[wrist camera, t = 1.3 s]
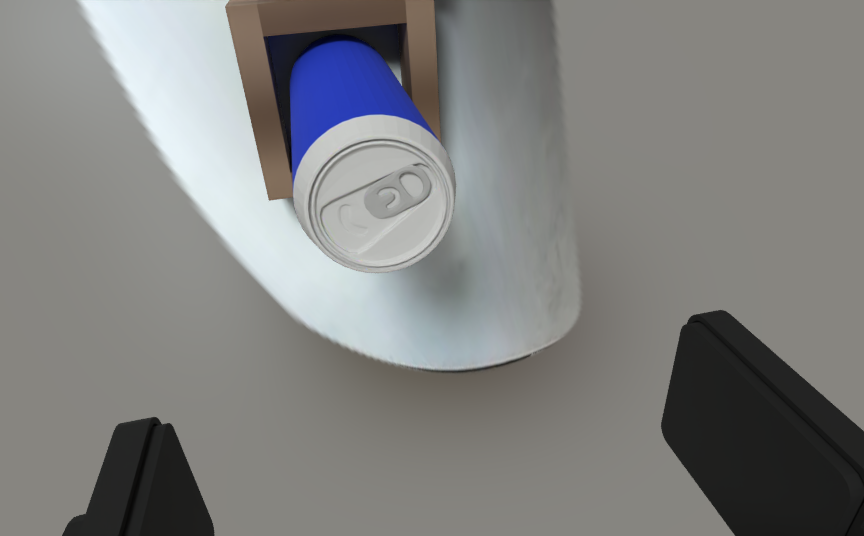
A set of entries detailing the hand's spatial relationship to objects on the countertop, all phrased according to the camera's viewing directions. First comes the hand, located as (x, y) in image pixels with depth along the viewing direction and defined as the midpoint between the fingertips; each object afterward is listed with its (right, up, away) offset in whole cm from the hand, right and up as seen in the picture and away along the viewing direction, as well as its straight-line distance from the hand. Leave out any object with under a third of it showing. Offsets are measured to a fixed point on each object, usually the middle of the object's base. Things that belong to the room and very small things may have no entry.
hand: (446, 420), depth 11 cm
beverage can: (-5, +12, +19) cm, 24 cm away
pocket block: (-5, +12, +19) cm, 23 cm away
